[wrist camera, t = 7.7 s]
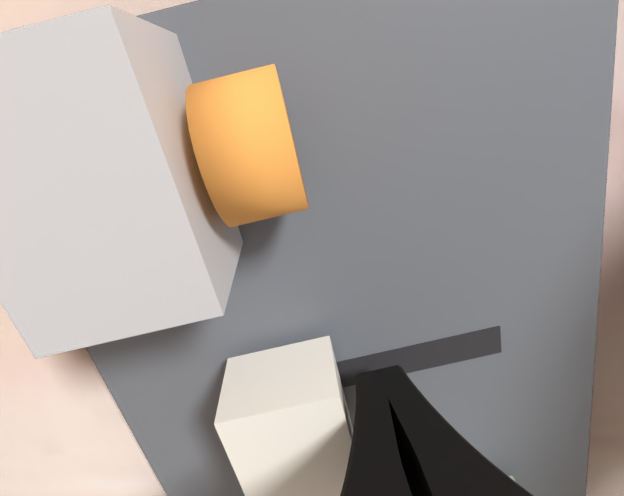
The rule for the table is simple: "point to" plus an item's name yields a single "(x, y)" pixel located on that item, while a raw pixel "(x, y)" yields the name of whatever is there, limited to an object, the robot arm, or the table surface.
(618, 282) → the table surface
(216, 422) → the off-white slider
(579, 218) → the control panel
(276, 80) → the orange button
